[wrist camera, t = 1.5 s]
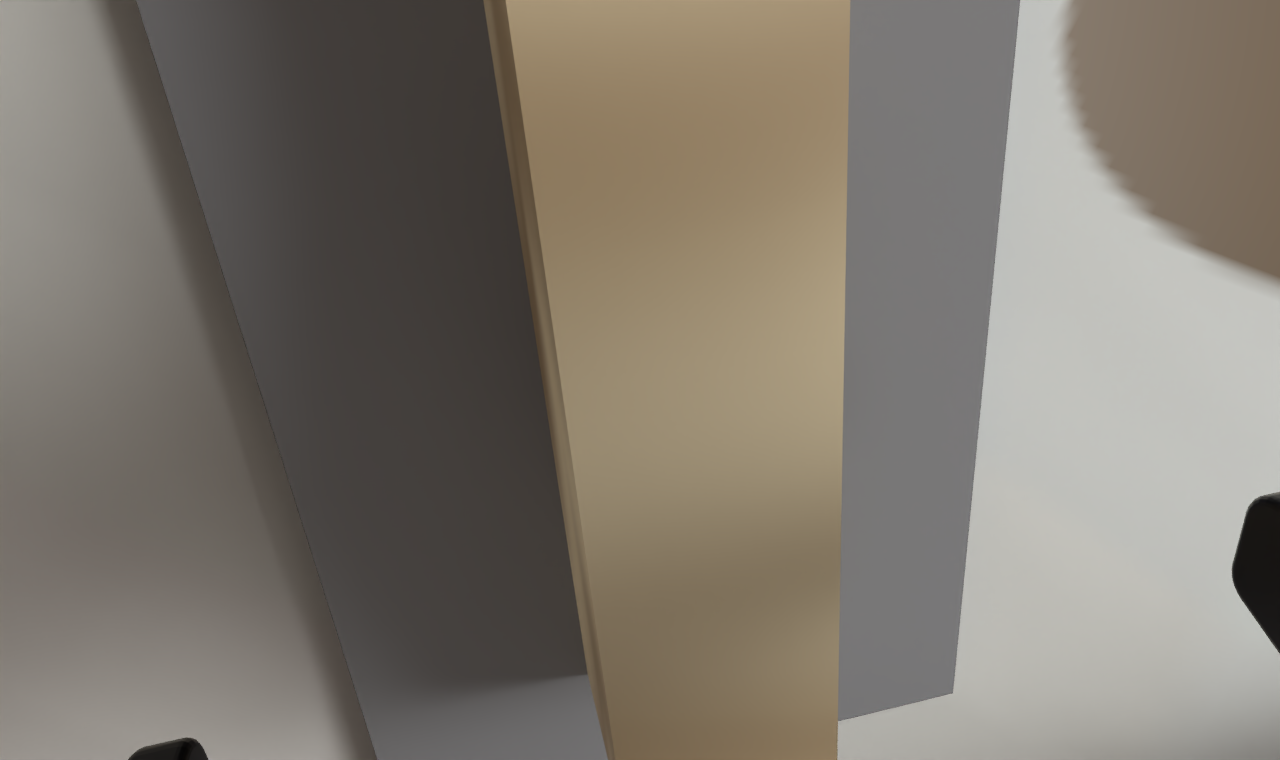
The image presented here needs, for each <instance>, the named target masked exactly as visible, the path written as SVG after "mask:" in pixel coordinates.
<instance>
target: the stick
mask: <svg viewBox="0 0 1280 760" xmlns="http://www.w3.org/2000/svg"><path fill="white" fill-rule="evenodd" d="M483 1H484V8H485V14H486V21H487V27H488V34H489V40H490V47H491V53H492V60H493V66H494V73H495V79H496V85H497V92H498V98H499V105H500V111H501V118H502V124H503V131H504V137H505V144H506V150H507V157H508V163H509V169H510V176H511V182H512V189H513V195H514V202H515V208H516V215H517V221H518V228H519V234H520V240H521V247H522V253H523V260H524V266H525V273H526V279H527V286H528V292H529V299H530V305H531V312H532V318H533V324H534V331H535V337H536V344H537V350H538V357H539V363H540V370H541V376H542V383H543V389H544V395H545V402H546V408H547V415H548V421H549V428H550V434H551V441H552V447H553V454H554V460H555V467H556V473H557V479H558V486H559V492H560V499H561V505H562V512H563V518H564V525H565V531H566V538H567V544H568V551H569V557H570V563H571V570H572V576H573V583H574V589H575V596H576V602H577V609H578V615H579V622H580V628H581V634H582V641H583V647H584V654H585V660H586V667H587V673H588V678H589V682H590V686H591V690H592V695H593V699H594V703H595V707H596V711H597V715H598V720H599V724H600V728H601V732H602V736H603V740H604V745H605V749H606V753H607V757H608V760H837V736H838V678H839V620H840V563H841V505H842V448H843V390H844V333H845V275H846V218H847V160H848V102H849V45H850V0H483Z"/></svg>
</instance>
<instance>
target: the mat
mask: <svg viewBox="0 0 1280 760" xmlns="http://www.w3.org/2000/svg"><path fill="white" fill-rule="evenodd" d="M136 2H137V5H138V8H139V12H140V15H141V18H142V21H143V24H144V27H145V30H146V34H147V37H148V40H149V43H150V46H151V49H152V52H153V56H154V59H155V62H156V65H157V68H158V71H159V74H160V78H161V81H162V84H163V87H164V90H165V93H166V96H167V100H168V103H169V106H170V109H171V112H172V115H173V119H174V122H175V125H176V128H177V131H178V134H179V137H180V141H181V144H182V147H183V150H184V153H185V156H186V159H187V163H188V166H189V169H190V172H191V175H192V178H193V181H194V185H195V188H196V191H197V194H198V197H199V200H200V203H201V207H202V210H203V213H204V216H205V219H206V222H207V225H208V229H209V232H210V235H211V238H212V241H213V244H214V248H215V251H216V254H217V257H218V260H219V263H220V266H221V270H222V273H223V276H224V279H225V282H226V285H227V288H228V292H229V295H230V298H231V301H232V304H233V307H234V310H235V314H236V317H237V320H238V323H239V326H240V329H241V332H242V336H243V339H244V342H245V345H246V348H247V351H248V354H249V358H250V361H251V364H252V367H253V370H254V373H255V377H256V380H257V383H258V386H259V389H260V392H261V395H262V399H263V402H264V405H265V408H266V411H267V414H268V417H269V421H270V424H271V427H272V430H273V433H274V436H275V439H276V443H277V446H278V449H279V452H280V455H281V458H282V461H283V465H284V468H285V471H286V474H287V477H288V480H289V483H290V487H291V490H292V493H293V496H294V499H295V502H296V506H297V509H298V512H299V515H300V518H301V521H302V524H303V528H304V531H305V534H306V537H307V540H308V543H309V546H310V550H311V553H312V556H313V559H314V562H315V565H316V568H317V572H318V575H319V578H320V581H321V584H322V587H323V590H324V594H325V597H326V600H327V603H328V606H329V609H330V612H331V616H332V619H333V622H334V625H335V628H336V631H337V634H338V638H339V641H340V644H341V647H342V650H343V653H344V657H345V660H346V663H347V666H348V669H349V672H350V675H351V679H352V682H353V685H354V688H355V691H356V694H357V697H358V701H359V704H360V707H361V710H362V713H363V716H364V719H365V723H366V726H367V729H368V732H369V735H370V738H371V741H372V745H373V748H374V751H375V754H376V757H377V760H608V757H607V753H606V749H605V745H604V740H603V736H602V732H601V728H600V724H599V720H598V715H597V711H596V707H595V703H594V699H593V695H592V690H591V686H590V682H589V678H588V673H587V667H586V660H585V654H584V647H583V641H582V634H581V628H580V622H579V615H578V609H577V602H576V596H575V589H574V583H573V576H572V570H571V563H570V557H569V551H568V544H567V538H566V531H565V525H564V518H563V512H562V505H561V499H560V492H559V486H558V479H557V473H556V467H555V460H554V454H553V447H552V441H551V434H550V428H549V421H548V415H547V408H546V402H545V395H544V389H543V383H542V376H541V370H540V363H539V357H538V350H537V344H536V337H535V331H534V324H533V318H532V312H531V305H530V299H529V292H528V286H527V279H526V273H525V266H524V260H523V253H522V247H521V240H520V234H519V228H518V221H517V215H516V208H515V202H514V195H513V189H512V182H511V176H510V169H509V163H508V157H507V150H506V144H505V137H504V131H503V124H502V118H501V111H500V105H499V98H498V92H497V85H496V79H495V73H494V66H493V60H492V53H491V47H490V40H489V34H488V27H487V21H486V14H485V8H484V1H483V0H136ZM1019 6H1020V0H850V45H849V102H848V160H847V218H846V275H845V333H844V390H843V448H842V505H841V563H840V620H839V678H838V721H841V720H845V719H849V718H854V717H858V716H862V715H866V714H870V713H874V712H878V711H882V710H886V709H890V708H894V707H898V706H903V705H907V704H911V703H915V702H919V701H923V700H927V699H931V698H935V697H939V696H943V695H947V694H951V693H953V686H954V676H955V666H956V655H957V645H958V635H959V624H960V614H961V604H962V593H963V583H964V573H965V563H966V552H967V542H968V532H969V521H970V511H971V501H972V490H973V480H974V470H975V459H976V449H977V439H978V429H979V418H980V408H981V398H982V387H983V377H984V367H985V356H986V346H987V336H988V326H989V315H990V305H991V295H992V284H993V274H994V264H995V253H996V243H997V233H998V222H999V212H1000V202H1001V192H1002V181H1003V171H1004V161H1005V150H1006V140H1007V130H1008V119H1009V109H1010V99H1011V89H1012V78H1013V68H1014V58H1015V47H1016V37H1017V27H1018V16H1019Z"/></svg>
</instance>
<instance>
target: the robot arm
mask: <svg viewBox="0 0 1280 760" xmlns="http://www.w3.org/2000/svg"><path fill="white" fill-rule="evenodd" d="M1232 578H1233V582H1234V586H1235V588H1236V591H1237V593H1238V595H1239V596H1240V598H1241V599H1242V601H1243V602H1244V604H1245V605H1246V606H1247V608H1248V609H1249V611H1250V612H1251V614H1252V615H1253V616H1254V618H1255V619H1256V621H1257V622H1258V624H1259V625H1260V626H1261V628H1262V629H1263V631H1264V632H1265V633H1266V635H1267V636H1268V638H1269V639H1270V641H1271V642H1272V643H1273V645H1274V646H1275V648H1276V649H1277V650H1278V652H1279V653H1280V492H1277V493H1272V494H1268V495H1264V496H1260V497H1258V498H1256V499H1255V500H1254V501H1253V502H1252V503H1251V504H1250V505H1249V507H1248V510H1247V512H1246V516H1245V519H1244V523H1243V527H1242V531H1241V534H1240V538H1239V542H1238V546H1237V549H1236V553H1235V557H1234V561H1233V565H1232ZM128 760H208V758H207V755H206V753H205V751H204V749H203V747H202V746H201V744H200V743H199V742H198V741H197V740H195V739H193V738H182V739H177V740H173V741H168V742H164V743H160V744H155V745H151V746H146V747H143V748H141V749H139V750H138V751H136V752H135V753H134V754H133V755H132V756H131V757H130V758H129V759H128Z"/></svg>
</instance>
